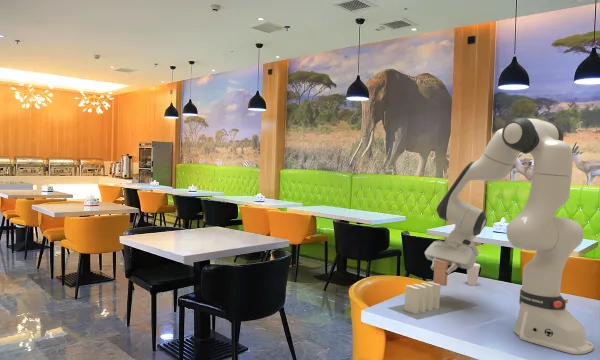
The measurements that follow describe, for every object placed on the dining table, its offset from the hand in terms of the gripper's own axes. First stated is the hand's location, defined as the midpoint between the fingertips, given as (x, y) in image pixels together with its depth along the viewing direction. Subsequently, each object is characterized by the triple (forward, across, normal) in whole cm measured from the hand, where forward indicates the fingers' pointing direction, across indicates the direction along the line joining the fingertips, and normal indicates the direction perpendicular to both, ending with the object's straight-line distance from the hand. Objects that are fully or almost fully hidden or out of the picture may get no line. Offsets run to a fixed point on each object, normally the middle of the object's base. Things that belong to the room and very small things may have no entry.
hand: (439, 271), depth 171 cm
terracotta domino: (+3, 0, +4) cm, 5 cm away
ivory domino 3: (+15, 0, +4) cm, 15 cm away
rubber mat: (+12, 0, +8) cm, 14 cm away
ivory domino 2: (+18, 0, +1) cm, 18 cm away
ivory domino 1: (+20, 0, -2) cm, 20 cm away
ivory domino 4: (+12, 0, +7) cm, 14 cm away
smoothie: (-22, -15, +42) cm, 50 cm away
